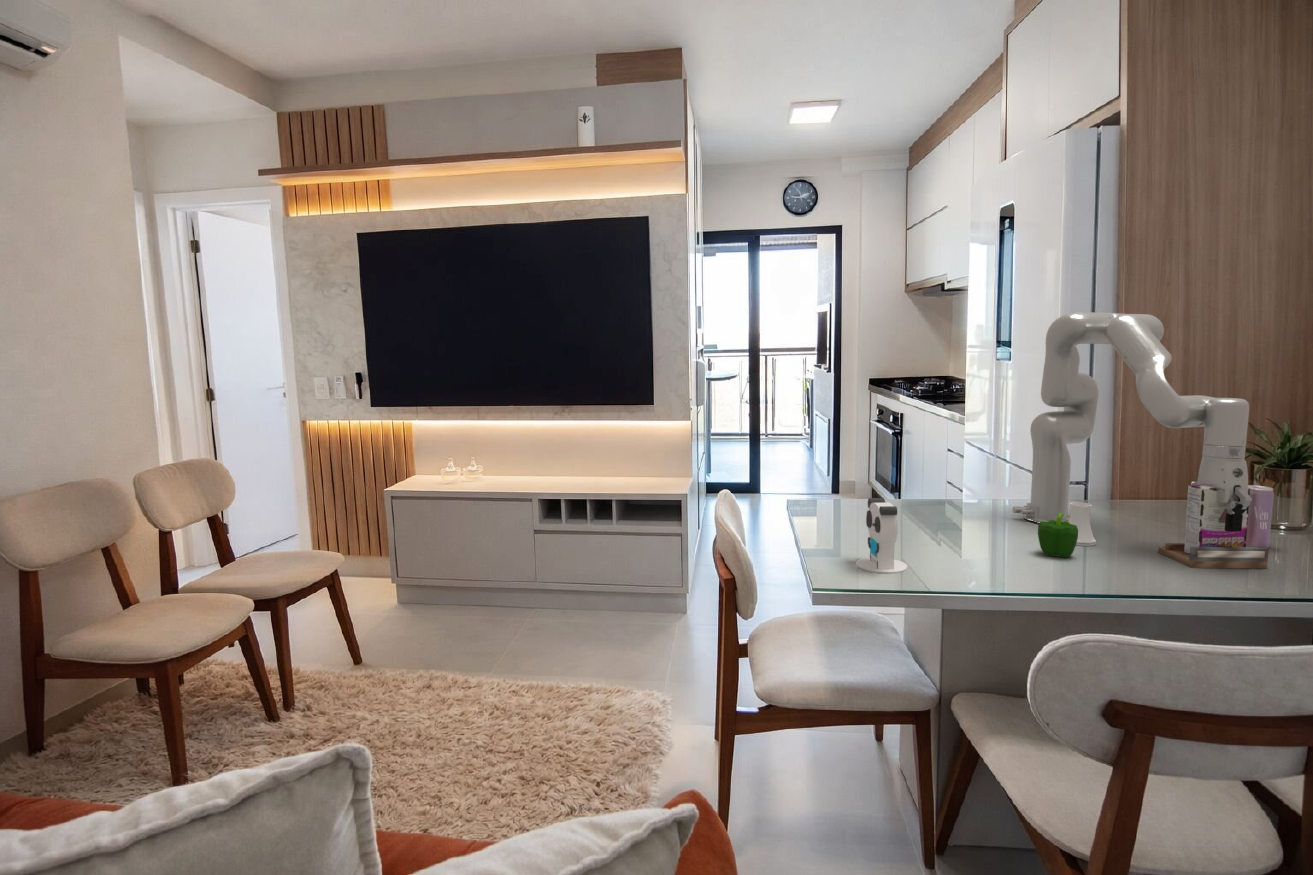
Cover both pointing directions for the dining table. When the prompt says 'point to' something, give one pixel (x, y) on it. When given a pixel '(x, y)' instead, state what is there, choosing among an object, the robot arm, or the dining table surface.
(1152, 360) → the robot arm
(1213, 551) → the wooden tray
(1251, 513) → the beverage can
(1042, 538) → the bell pepper
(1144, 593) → the dining table surface
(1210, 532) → the candy bar box
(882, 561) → the panda figurine
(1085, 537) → the vase
